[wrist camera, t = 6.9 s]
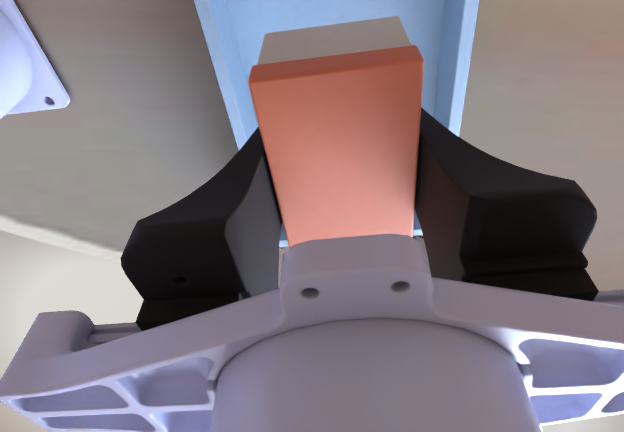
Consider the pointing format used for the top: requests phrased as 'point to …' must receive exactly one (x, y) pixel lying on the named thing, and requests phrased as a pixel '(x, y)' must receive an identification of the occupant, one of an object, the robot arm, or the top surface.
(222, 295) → the robot arm
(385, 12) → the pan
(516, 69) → the top surface
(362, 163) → the sushi
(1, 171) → the top surface
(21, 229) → the top surface
